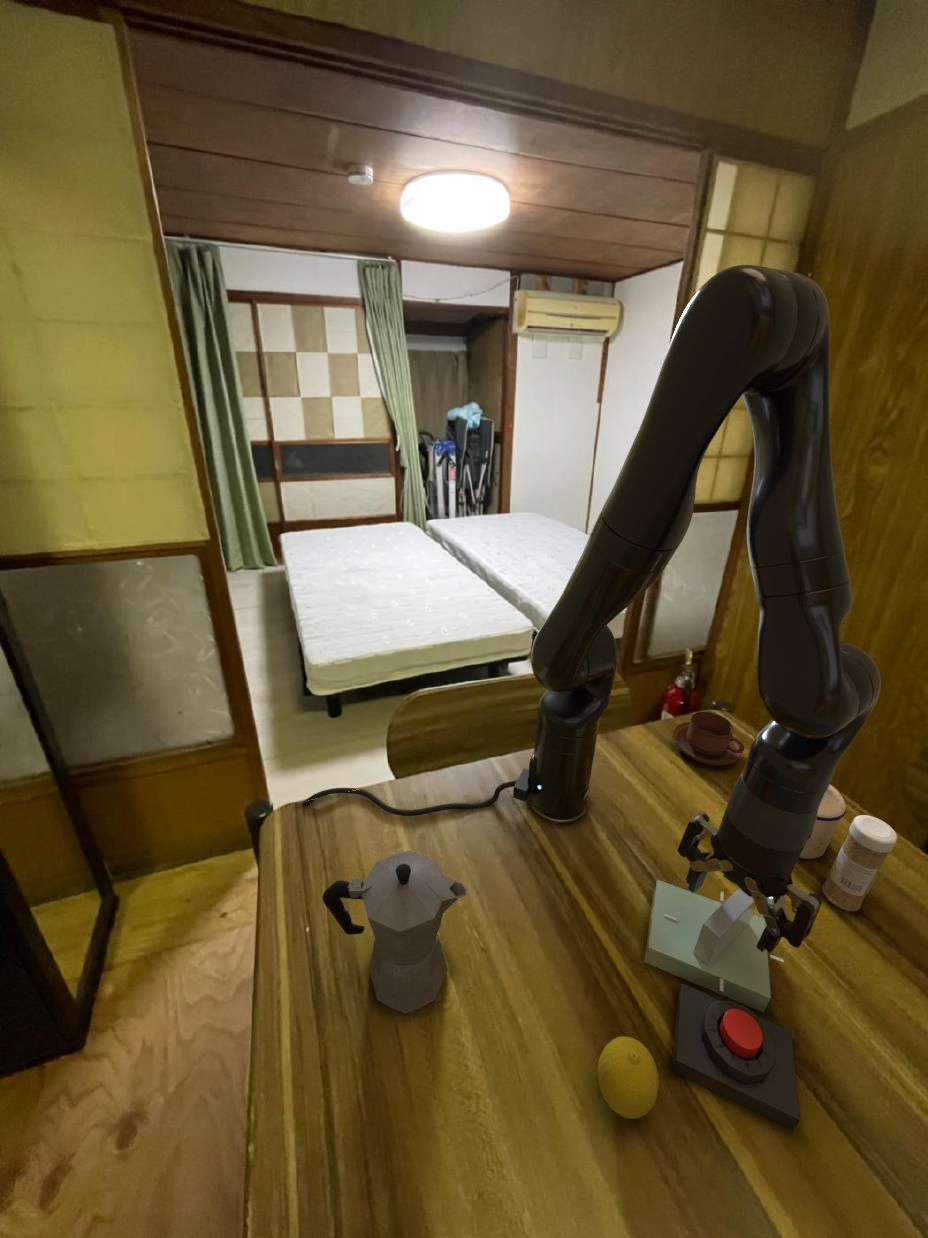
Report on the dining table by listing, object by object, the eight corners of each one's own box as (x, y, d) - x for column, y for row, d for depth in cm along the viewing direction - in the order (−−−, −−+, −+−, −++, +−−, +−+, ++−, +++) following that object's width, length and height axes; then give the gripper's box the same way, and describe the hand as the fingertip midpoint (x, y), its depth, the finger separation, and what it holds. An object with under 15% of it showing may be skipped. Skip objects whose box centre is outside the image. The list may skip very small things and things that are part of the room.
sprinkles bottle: (865, 901, 70) (904, 832, 64) (850, 919, 68) (889, 848, 62) (829, 876, 73) (863, 808, 67) (814, 892, 71) (847, 823, 65)
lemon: (586, 1065, 53) (595, 1023, 50) (637, 1060, 54) (650, 1018, 50) (603, 1137, 48) (615, 1096, 45) (660, 1131, 49) (676, 1090, 45)
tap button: (719, 1047, 52) (723, 1038, 51) (719, 1011, 55) (723, 1002, 54) (759, 1066, 50) (764, 1057, 50) (757, 1027, 53) (761, 1018, 53)
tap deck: (642, 975, 61) (646, 959, 60) (654, 884, 72) (658, 869, 71) (781, 1035, 56) (789, 1019, 54) (771, 927, 67) (778, 912, 65)
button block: (671, 1071, 53) (679, 1051, 51) (677, 994, 59) (684, 973, 58) (793, 1131, 49) (806, 1111, 47) (785, 1041, 55) (796, 1021, 54)
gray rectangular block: (708, 967, 59) (720, 936, 57) (692, 952, 61) (703, 921, 58) (749, 923, 64) (761, 893, 61) (733, 911, 65) (745, 881, 63)
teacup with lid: (792, 808, 85) (814, 754, 80) (841, 854, 77) (869, 796, 72) (731, 823, 82) (750, 767, 77) (776, 872, 74) (800, 813, 69)
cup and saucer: (738, 740, 100) (747, 714, 98) (739, 780, 91) (749, 752, 88) (674, 723, 105) (680, 698, 102) (668, 759, 95) (675, 733, 92)
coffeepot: (463, 932, 66) (466, 832, 58) (464, 1016, 57) (466, 912, 49) (343, 931, 65) (328, 831, 57) (325, 1015, 57) (305, 911, 49)
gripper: (685, 791, 57) (657, 886, 64) (825, 889, 46) (772, 989, 54) (722, 764, 61) (691, 857, 68) (859, 849, 50) (805, 947, 58)
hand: (727, 915), depth 61 cm, fingers open, 8 cm apart
